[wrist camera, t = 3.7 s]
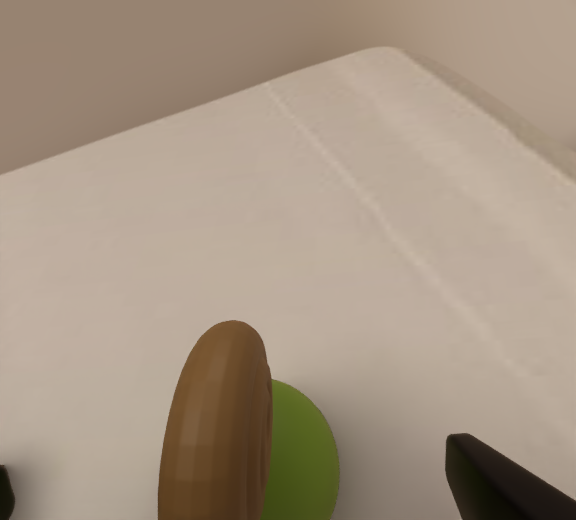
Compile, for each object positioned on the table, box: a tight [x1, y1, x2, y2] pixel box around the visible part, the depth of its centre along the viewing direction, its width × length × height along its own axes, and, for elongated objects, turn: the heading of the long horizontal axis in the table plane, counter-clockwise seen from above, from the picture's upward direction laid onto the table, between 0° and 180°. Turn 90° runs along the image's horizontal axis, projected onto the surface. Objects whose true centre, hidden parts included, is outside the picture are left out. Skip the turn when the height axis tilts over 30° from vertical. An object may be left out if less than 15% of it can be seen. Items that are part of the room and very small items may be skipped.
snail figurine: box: [158, 320, 340, 520], centre depth 9 cm, size 5×6×12 cm
